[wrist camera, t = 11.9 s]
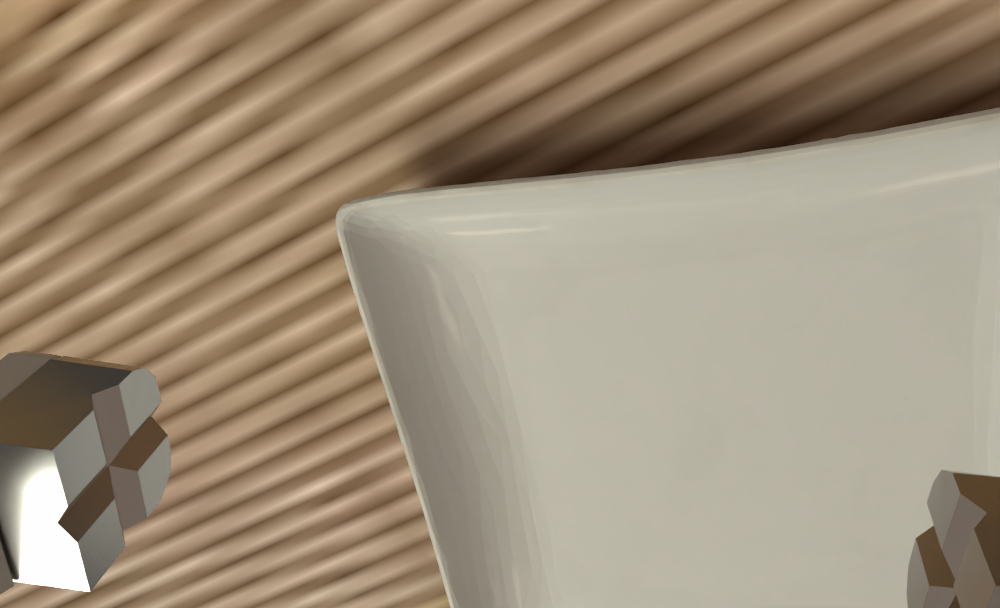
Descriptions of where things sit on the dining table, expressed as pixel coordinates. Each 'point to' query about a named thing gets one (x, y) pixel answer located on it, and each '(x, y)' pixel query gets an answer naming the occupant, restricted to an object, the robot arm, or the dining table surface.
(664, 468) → the square plate
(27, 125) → the dining table surface
